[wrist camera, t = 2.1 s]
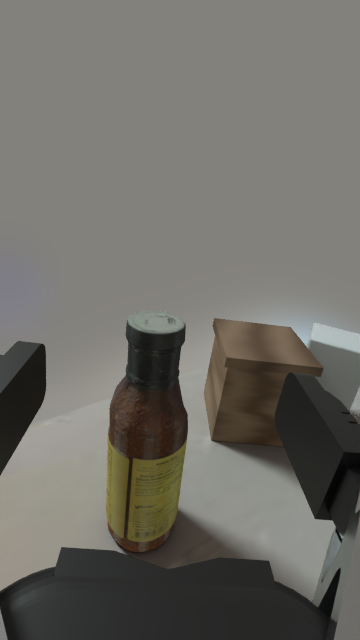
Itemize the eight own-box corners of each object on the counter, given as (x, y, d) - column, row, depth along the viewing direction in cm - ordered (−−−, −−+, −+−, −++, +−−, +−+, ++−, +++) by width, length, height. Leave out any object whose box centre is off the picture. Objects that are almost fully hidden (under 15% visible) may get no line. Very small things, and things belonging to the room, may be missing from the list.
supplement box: (339, 408, 51) (368, 335, 46) (339, 437, 44) (373, 356, 40) (291, 391, 53) (313, 320, 48) (284, 416, 47) (310, 338, 42)
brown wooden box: (270, 397, 51) (290, 327, 46) (294, 450, 41) (323, 367, 36) (200, 390, 50) (214, 318, 46) (207, 442, 40) (226, 357, 35)
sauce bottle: (183, 507, 32) (222, 319, 24) (156, 572, 26) (194, 353, 18) (124, 480, 33) (142, 297, 26) (87, 535, 28) (95, 323, 20)
